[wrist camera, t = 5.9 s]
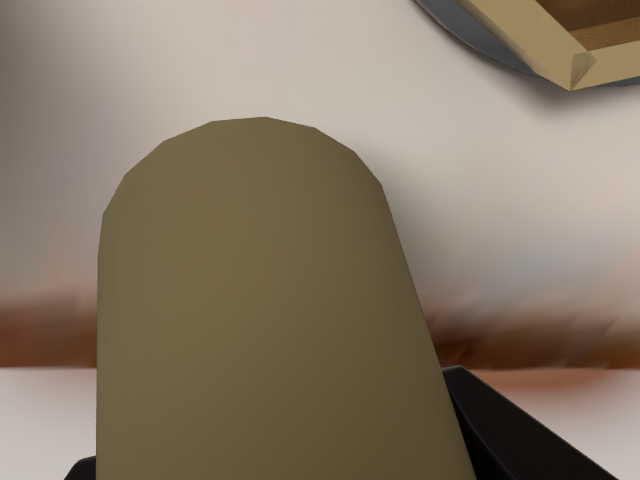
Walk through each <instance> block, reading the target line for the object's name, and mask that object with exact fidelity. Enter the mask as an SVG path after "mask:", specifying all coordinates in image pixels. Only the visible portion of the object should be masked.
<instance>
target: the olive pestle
mask: <svg viewBox="0 0 640 480" xmlns="http://www.w3.org/2000/svg"><path fill="white" fill-rule="evenodd" d="M96 415H97V416H96V480H477V479H476V476H475V473H474V470H473V466H472V463H471V460H470V457H469V454H468V451H467V448H466V445H465V442H464V439H463V436H462V433H461V429H460V426H459V423H458V420H457V417H456V414H455V411H454V408H453V405H452V402H451V399H450V395H449V392H448V389H447V386H446V383H445V380H444V377H443V374H442V371H441V367H440V364H439V361H438V358H437V355H436V352H435V349H434V345H433V342H432V339H431V336H430V333H429V330H428V327H427V324H426V321H425V318H424V315H423V311H422V308H421V305H420V302H419V299H418V296H417V293H416V290H415V287H414V284H413V280H412V277H411V274H410V271H409V268H408V265H407V262H406V259H405V256H404V253H403V249H402V246H401V243H400V240H399V237H398V234H397V231H396V228H395V225H394V222H393V219H392V215H391V212H390V209H389V206H388V203H387V200H386V197H385V194H384V191H383V188H382V185H381V184H380V182H379V181H378V180H377V179H376V177H375V176H374V175H373V174H372V173H371V171H370V170H369V169H368V168H367V166H366V165H365V164H364V163H363V161H362V160H361V159H360V158H359V156H358V155H357V154H356V153H355V152H354V151H352V150H351V149H349V148H348V147H346V146H344V145H343V144H341V143H339V142H338V141H336V140H334V139H333V138H331V137H329V136H328V135H326V134H324V133H323V132H321V131H319V130H318V129H316V128H314V127H309V126H305V125H300V124H296V123H291V122H287V121H282V120H278V119H273V118H269V117H256V118H244V119H233V120H221V121H212V122H209V123H207V124H204V125H202V126H200V127H197V128H195V129H192V130H190V131H187V132H185V133H183V134H180V135H178V136H175V137H173V138H170V139H168V140H165V141H163V142H162V143H161V144H160V145H159V146H158V147H156V148H155V149H154V150H153V151H152V152H151V153H149V154H148V155H147V156H146V157H145V158H144V159H142V160H141V161H140V162H139V163H138V164H137V165H135V166H134V167H133V168H132V169H131V170H130V171H128V172H127V173H126V174H125V176H124V178H123V180H122V181H121V183H120V185H119V187H118V189H117V190H116V192H115V194H114V196H113V198H112V199H111V201H110V203H109V205H108V206H107V208H106V210H105V212H104V214H103V220H102V227H101V235H100V243H99V251H98V292H97V413H96Z"/></svg>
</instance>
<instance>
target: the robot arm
mask: <svg viewBox="0 0 640 480" xmlns="http://www.w3.org/2000/svg"><path fill="white" fill-rule="evenodd" d="M441 371H442V374H443V377H444V380H445V383H446V386H447V389H448V392H449V395H450V399H451V402H452V405H453V408H454V411H455V414H456V417H457V420H458V423H459V426H460V429H461V433H462V436H463V439H464V442H465V445H466V448H467V451H468V454H469V457H470V460H471V463H472V466H473V470H474V473H475V476H476V479H477V480H619V479H617V478H616V477H614V476H613V475H612V474H610V473H609V472H608V471H606V470H605V469H603V468H602V467H601V466H599V465H598V464H597V463H595V462H594V461H593V460H591V459H590V458H588V457H587V456H586V455H584V454H583V453H582V452H580V451H579V450H577V449H576V448H574V447H573V446H572V445H571V444H569V443H568V442H566V441H565V440H564V439H562V438H561V437H560V436H558V435H557V434H555V433H554V432H552V431H551V430H550V429H548V428H547V427H546V426H544V425H543V424H542V423H540V422H539V421H538V420H536V419H535V418H533V417H532V416H531V415H529V414H528V413H526V412H525V411H524V410H522V409H521V408H520V407H518V406H517V405H516V404H514V403H513V402H511V401H510V400H509V399H507V398H506V397H505V396H503V395H502V394H500V393H499V392H498V391H496V390H495V389H494V388H492V387H491V386H489V385H488V384H487V383H485V382H484V381H483V380H481V379H480V378H478V377H477V376H476V375H474V374H473V373H472V372H470V371H469V370H468V369H466V368H465V367H463V366H460V365H455V366H451V367H447V368H443V369H441ZM64 480H96V456H92V457H88V458H84V459H81V460H79V461H78V462H77V463H76V464H74V466H73V467H72V469H71V470H70V472H69V473H68V474H67V476H66V477H65V479H64Z"/></svg>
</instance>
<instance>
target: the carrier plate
mask: <svg viewBox="0 0 640 480" xmlns="http://www.w3.org/2000/svg"><path fill="white" fill-rule="evenodd" d="M415 1H416V2H417V3H418V4H419V5H420V6H421V7H422V8H423V9H424V10H425V11H426V12H427V13H428V14H429V15H430V16H431V17H432V18H433V19H434V20H435V21H436V22H437V23H438V24H439V25H441V26H442V27H444V28H445V29H446V30H448V31H449V32H450V33H452V34H453V35H455V36H456V37H457V38H459V39H460V40H462V41H463V42H464V43H466V44H467V45H469V46H470V47H472V48H474V49H475V50H477V51H479V52H481V53H482V54H484V55H486V56H488V57H490V58H492V59H494V60H496V61H498V62H500V63H502V64H504V65H506V66H508V67H510V68H512V69H514V70H516V71H519V72H523V73H526V74H529V75H532V76H536V77H539V78H542V79H545V80H549V81H552V82H554V83H556V84H557V85H559V86H561V87H563V88H565V89H567V90H569V91H572V90H577V89H581V88H586V87H590V86H626V85H633V84H640V0H415Z"/></svg>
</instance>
